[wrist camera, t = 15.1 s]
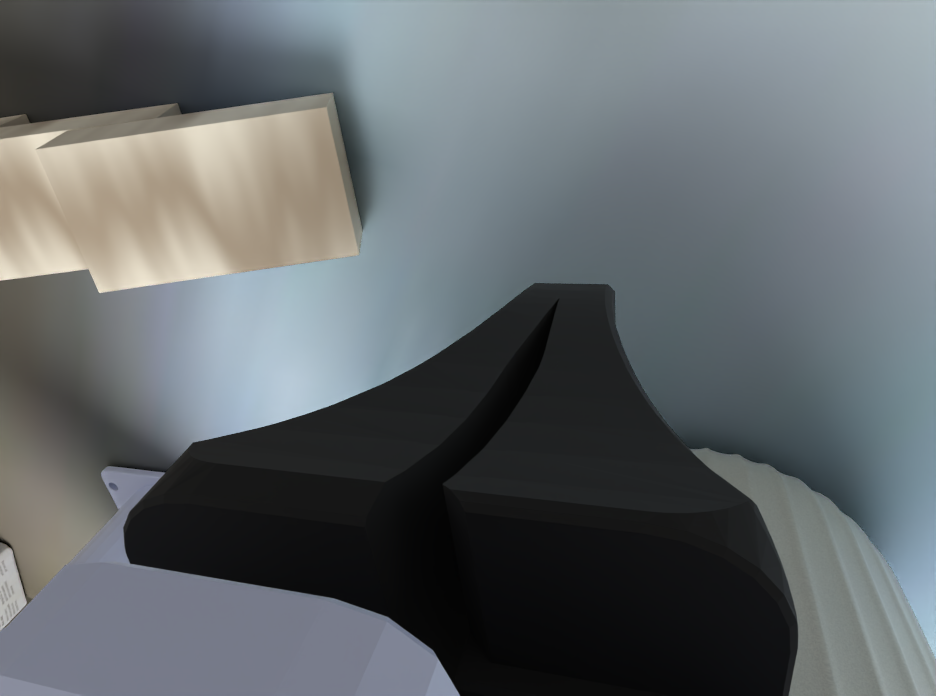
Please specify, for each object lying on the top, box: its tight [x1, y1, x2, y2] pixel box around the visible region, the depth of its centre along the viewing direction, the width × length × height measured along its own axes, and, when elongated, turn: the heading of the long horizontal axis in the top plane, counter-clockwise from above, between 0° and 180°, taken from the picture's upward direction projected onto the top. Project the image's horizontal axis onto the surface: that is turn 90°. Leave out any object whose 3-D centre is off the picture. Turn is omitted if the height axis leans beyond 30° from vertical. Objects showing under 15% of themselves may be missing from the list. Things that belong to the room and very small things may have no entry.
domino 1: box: [0, 103, 181, 281], centre depth 23 cm, size 4×2×8 cm
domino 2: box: [35, 93, 363, 293], centre depth 21 cm, size 4×2×8 cm
